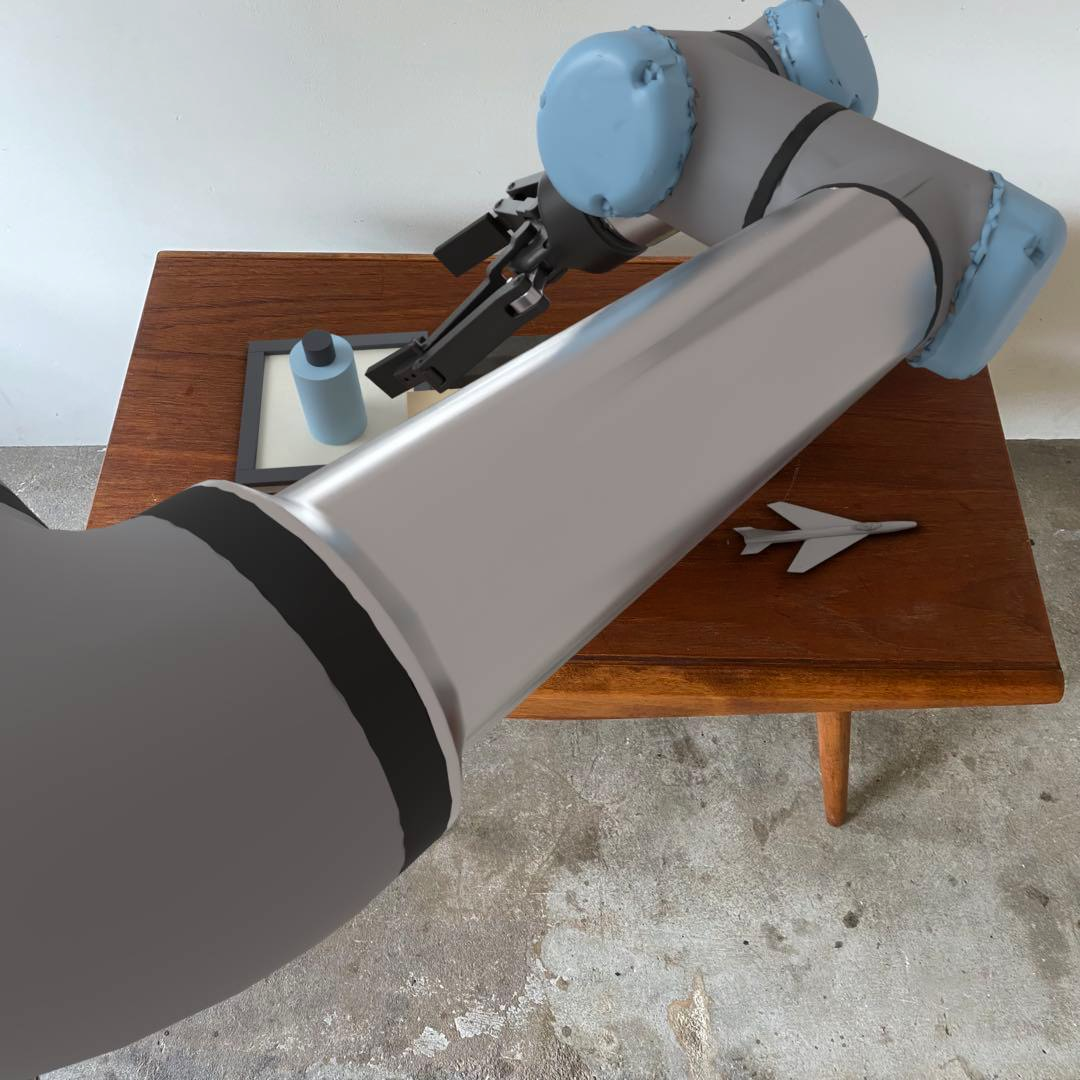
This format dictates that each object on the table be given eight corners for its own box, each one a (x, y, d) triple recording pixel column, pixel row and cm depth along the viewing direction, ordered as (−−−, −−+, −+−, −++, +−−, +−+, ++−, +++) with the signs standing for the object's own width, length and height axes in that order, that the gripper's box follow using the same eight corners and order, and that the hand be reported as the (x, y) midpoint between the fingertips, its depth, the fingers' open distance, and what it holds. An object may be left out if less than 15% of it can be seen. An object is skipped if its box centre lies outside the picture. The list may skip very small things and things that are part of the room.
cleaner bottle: (307, 447, 90) (282, 365, 81) (309, 402, 93) (285, 318, 84) (367, 443, 91) (349, 361, 81) (367, 398, 94) (350, 315, 84)
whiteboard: (239, 495, 89) (234, 484, 87) (253, 353, 98) (248, 340, 97) (434, 482, 90) (433, 470, 88) (429, 343, 100) (427, 330, 98)
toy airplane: (930, 562, 85) (940, 548, 84) (699, 585, 84) (703, 571, 82) (902, 493, 90) (911, 478, 88) (681, 513, 88) (685, 499, 86)
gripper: (606, 377, 54) (388, 474, 69) (701, 124, 67) (501, 251, 82) (515, 283, 50) (306, 406, 65) (634, 35, 63) (438, 185, 78)
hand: (414, 320), depth 73 cm, fingers open, 13 cm apart
